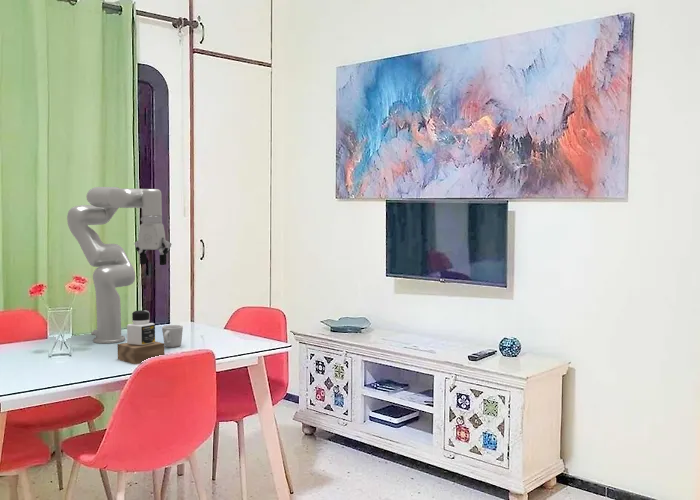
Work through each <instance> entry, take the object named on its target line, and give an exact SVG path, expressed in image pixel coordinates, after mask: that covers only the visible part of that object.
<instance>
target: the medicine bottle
mask: <svg viewBox="0 0 700 500" xmlns="http://www.w3.org/2000/svg"><path fill="white" fill-rule="evenodd" d="M131 315H132V316H131V317H132V318H131V319H132V323H129V324H126V339H127V340H126V343H127V344H133V345H146V344H150V343H155V341H156V324H155V323H154V322H150V319H151V318H150V317H151V316H150V312H149V310H146V309H145V310H144V309H143V310H134V311H133V312H132V314H131Z"/></svg>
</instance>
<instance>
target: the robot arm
mask: <svg viewBox="0 0 700 500" xmlns="http://www.w3.org/2000/svg"><path fill="white" fill-rule="evenodd" d="M162 195H163V194H162V191H161V190H160V189H158V188H120V187H117V186H96V187H95V186H94V187H92V188H91V189H89V190H88V191H87V194H86V201H87V202H88V204H81V205H75V206H73V207H71V208H70V209H69V210H68V212H67V215H66V220H67V226H68V229H69V231H70V232H71V234H72V236H73V237H74V238H75V240H76V241H77V242H78V244H79V247H80V249H81V250H82V252H83V255H84V256H85V259H86V261H87V262H88V263H89V265H90V266H91V267H95V270H94V271H93V273H92V280H93V284H94V289H95V290H94V291H95V303H96V307H95V308H96V329H94V330H93V331H91V333H90V334H91V335H92V336H95V338H93V342H94V343H96V344H115V343H116V344H117V343H120V342H121V343H122V342H124V341H125V340H126V336H124V335H122V313H121V312H122V311H121V310H122V309H121V304H122V303H121V297H120V294H119V293H118V291H117V289H116V288H121V287H123V288H124V287H129V286H131V285H132V284H134V282H135V280H136V272H135V270H134V267H133V265H132V262H131V261H130V259H129V257H128V256H127V253H126V252H125V250H124V248H123V247H122V245H119V244H117V243H104V242H103V241H102V240H101V238H100V235H99V234H98V233H97V232H96V231H95V230H94V229H93V228H92V227H90V226H97V225H107V223H109V222H110V221H111V219H112V218H113V217H114V215H115V214H116V212H117V211H118V209H119V208H120V209H121V208H122V209H129V208H130V209H135V208H136V209H141V217H140V221H141V224H140V226H139V230H138V240H137V241H135V242H133V245H134V247H135V250H136V251H137V254H138V255H139V264H140V265H146V264H147V262H148V261H147V253H146V252H147V251H156V250H157V251H158V252H159V266H163V265H164V266H165V265H167V255H168V252H169V251H170V250H171V247H172V243H171V242H170V241H168V240H166V231H165V225H164V224H163V201H162V197H163V196H162Z"/></svg>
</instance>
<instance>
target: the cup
mask: <svg viewBox="0 0 700 500" xmlns="http://www.w3.org/2000/svg"><path fill="white" fill-rule="evenodd" d="M161 329H162V330H161V331H162V336H163V337H162V338H163V343H164V347H166V348H178V347H180V346H181V345H182V340H183V329H184V326H183V325H181V324H168V325H164V326H162V327H161Z"/></svg>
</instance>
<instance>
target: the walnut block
mask: <svg viewBox="0 0 700 500" xmlns="http://www.w3.org/2000/svg"><path fill="white" fill-rule="evenodd" d="M116 344H117V360H118V361H123V362H125V363H129V364H133V365H139V364H142V363H141V362H142V361H144V360H146V359H148V358H151V357H155V356H159V355H166V354H165V345H164V342H160V341H156V340H155V343H150V344H146V345H133V344H127V342H124V343H122V342H121V343H116Z"/></svg>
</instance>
